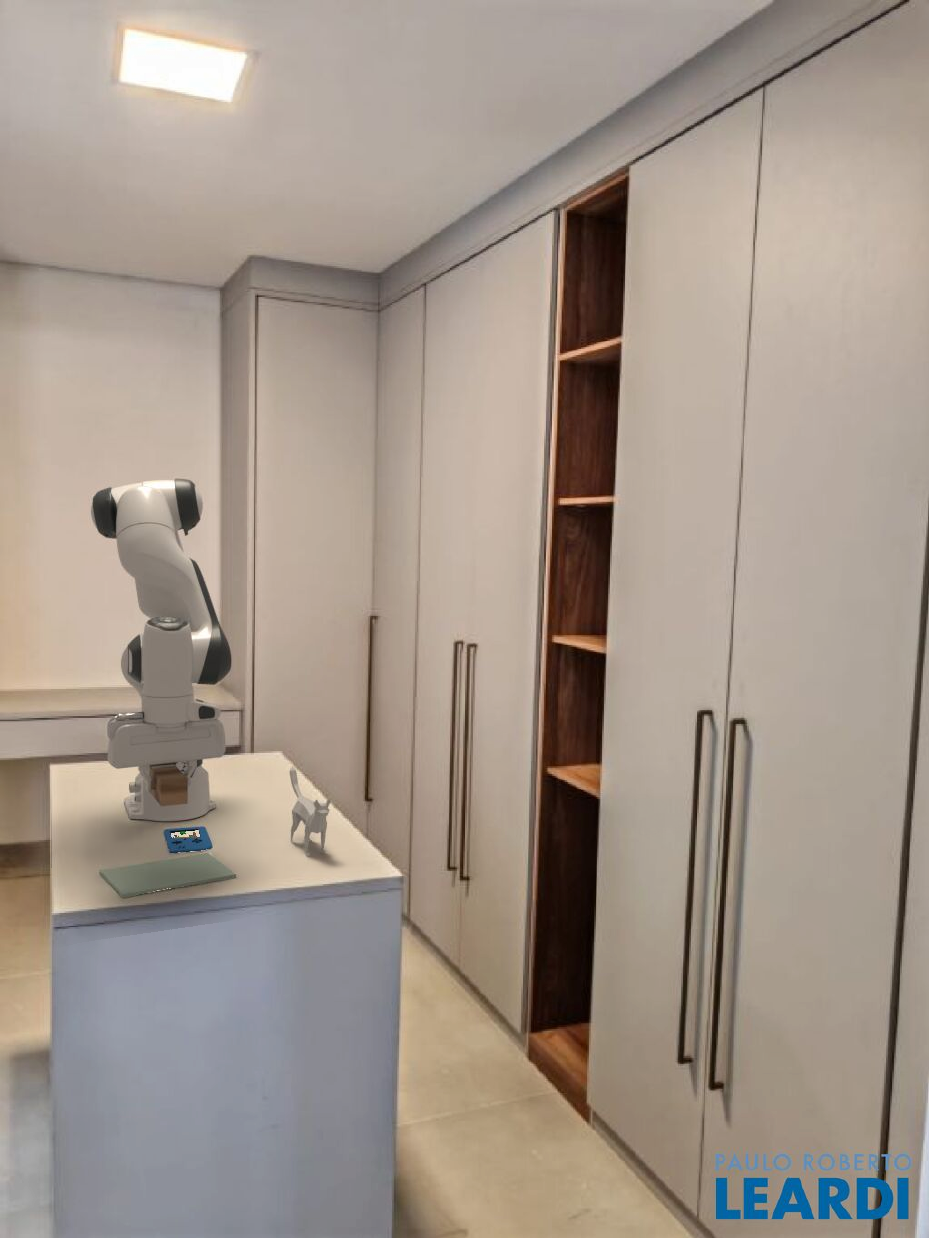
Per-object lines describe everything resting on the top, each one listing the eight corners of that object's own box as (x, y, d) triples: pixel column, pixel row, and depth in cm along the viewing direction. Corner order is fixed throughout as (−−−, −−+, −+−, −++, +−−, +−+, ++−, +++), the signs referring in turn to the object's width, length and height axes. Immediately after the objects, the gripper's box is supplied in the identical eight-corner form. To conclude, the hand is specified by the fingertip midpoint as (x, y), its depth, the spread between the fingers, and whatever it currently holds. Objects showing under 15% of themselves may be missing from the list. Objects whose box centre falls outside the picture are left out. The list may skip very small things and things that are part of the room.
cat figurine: (313, 863, 189) (314, 789, 188) (280, 834, 207) (280, 766, 205) (335, 860, 191) (336, 787, 190) (300, 831, 209) (301, 764, 207)
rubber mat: (99, 873, 180) (99, 870, 180) (207, 855, 192) (207, 852, 192) (122, 897, 169) (122, 894, 169) (236, 877, 180) (236, 874, 180)
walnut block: (187, 803, 175) (187, 777, 175) (161, 806, 173) (161, 779, 173) (174, 788, 185) (174, 763, 184) (149, 791, 183) (149, 765, 182)
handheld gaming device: (169, 849, 192) (163, 827, 206) (169, 855, 192) (163, 832, 206) (214, 846, 195) (205, 824, 209) (213, 851, 195) (205, 829, 209)
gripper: (112, 717, 169) (113, 798, 170) (229, 708, 181) (228, 784, 182) (102, 711, 174) (102, 790, 175) (216, 702, 186) (216, 776, 187)
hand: (167, 787), depth 179 cm, fingers closed on walnut block, 5 cm apart
